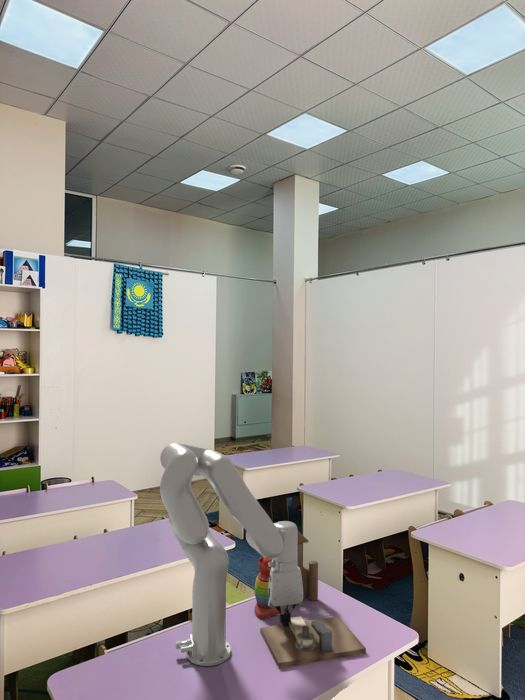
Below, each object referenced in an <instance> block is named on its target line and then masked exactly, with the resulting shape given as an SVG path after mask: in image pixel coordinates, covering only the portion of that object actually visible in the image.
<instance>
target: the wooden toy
mask: <svg viewBox="0 0 525 700" xmlns="http://www.w3.org/2000/svg"><path fill="white" fill-rule="evenodd" d="M307 543H309V539H307V537H305V536H304V535H303V534H302V533H301V532H300V531H299V530H298V529H297V566H298V567H299V568H300V570H301V576H302V584H303V599H305V598H308V599H309V601H312V602H315V601H318V599H319V562H318V561H317V560H310V561H309V562H308V567H307V566H304V565H303V544H307Z"/></svg>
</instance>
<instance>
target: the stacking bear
mask: <svg viewBox="0 0 525 700" xmlns="http://www.w3.org/2000/svg"><path fill="white" fill-rule="evenodd" d="M271 561H272V559H268V558H265V557H263V556H262V557H261V556H260V557H259V559H258V570H259V573H258V574H257V576H256V578H255V583H254V597H255V605H254V614H255V616H256V617H257V618H259V619H262V620H265V619H269V618H270V617H272V616H280V612H279V611H278V610H277V609H276V608H269V606H268V602H269V598H268V585H269V576H270V571H271V568H272V567H269V565H268V562H271ZM285 608H286V605H284V609H285Z"/></svg>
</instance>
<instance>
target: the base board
mask: <svg viewBox="0 0 525 700" xmlns="http://www.w3.org/2000/svg"><path fill="white" fill-rule="evenodd" d="M315 620H321V621H322V622H323V624H324V625H325V626H326V628H327V629H328V628H329V629H330V630H331V631H332V652H328V653H321V651H320V650H319V636H318V634H317V633H316V632H315V630H314V629H313V627H312V626H311V621H315ZM304 622H305V624H306V626H308V627H309V631H310V633H312V634H313V635H314V647H311V648H301V647H299V646H298V645H297V640H296V638H295V636H294V634H293V632H292V630H291V628H290V626H289V627H287V626H286V627H284V626H283V625H282V624H276V625H270V626H262V627H259V629H260V630H259V632H260V636H262V638H263V640H264V643H265V644H266V647H267V649H268V650H269V653H270V654H271V656H272V659H273V660H274V662H275V664H276V666H277V668H278V669H279V670H281V669H286V668H291V667H296V666H303V665H309V664H314V663H320V662H324V661H325V662H326V661H332V660H337V659H342V658H349V657H355V656H360V654H361V655H365V654H367V648H366V647H365V645H364V644H363V643H362V642H361V641H360V639H359V638H358V637H357V636H356V635H355V634H354V632H353V631H352V630H351V629H350V628H349V627H348V626H347V624H346V623H345V622H344V621H343V619H342V618H341V617H340V616H338V615H336V616H335V615H334V616H330V617H324V618H323V617H322V618H316V619H310V620H309V619H308V620H304Z"/></svg>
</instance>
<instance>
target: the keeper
mask: <svg viewBox="0 0 525 700" xmlns="http://www.w3.org/2000/svg"><path fill="white" fill-rule="evenodd" d="M314 620H315V619H314ZM311 626H312V627H313V629H314V630H315V632H316V633H317V634H318V636H319V650H320V651H321V653H328V652H332V631H331V630H330V629H329V628H328V629H327V628H326V626H325V625H324V624H323V622H322V621H321V620H315V621H311Z"/></svg>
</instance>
